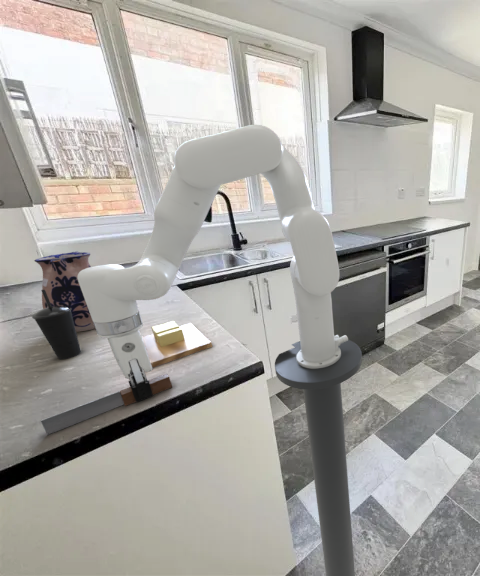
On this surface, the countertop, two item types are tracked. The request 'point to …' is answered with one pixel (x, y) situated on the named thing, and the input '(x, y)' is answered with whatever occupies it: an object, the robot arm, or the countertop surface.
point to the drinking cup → (58, 329)
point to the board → (176, 346)
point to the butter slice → (170, 337)
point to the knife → (100, 406)
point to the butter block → (163, 328)
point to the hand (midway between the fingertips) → (143, 395)
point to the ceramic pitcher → (66, 285)
